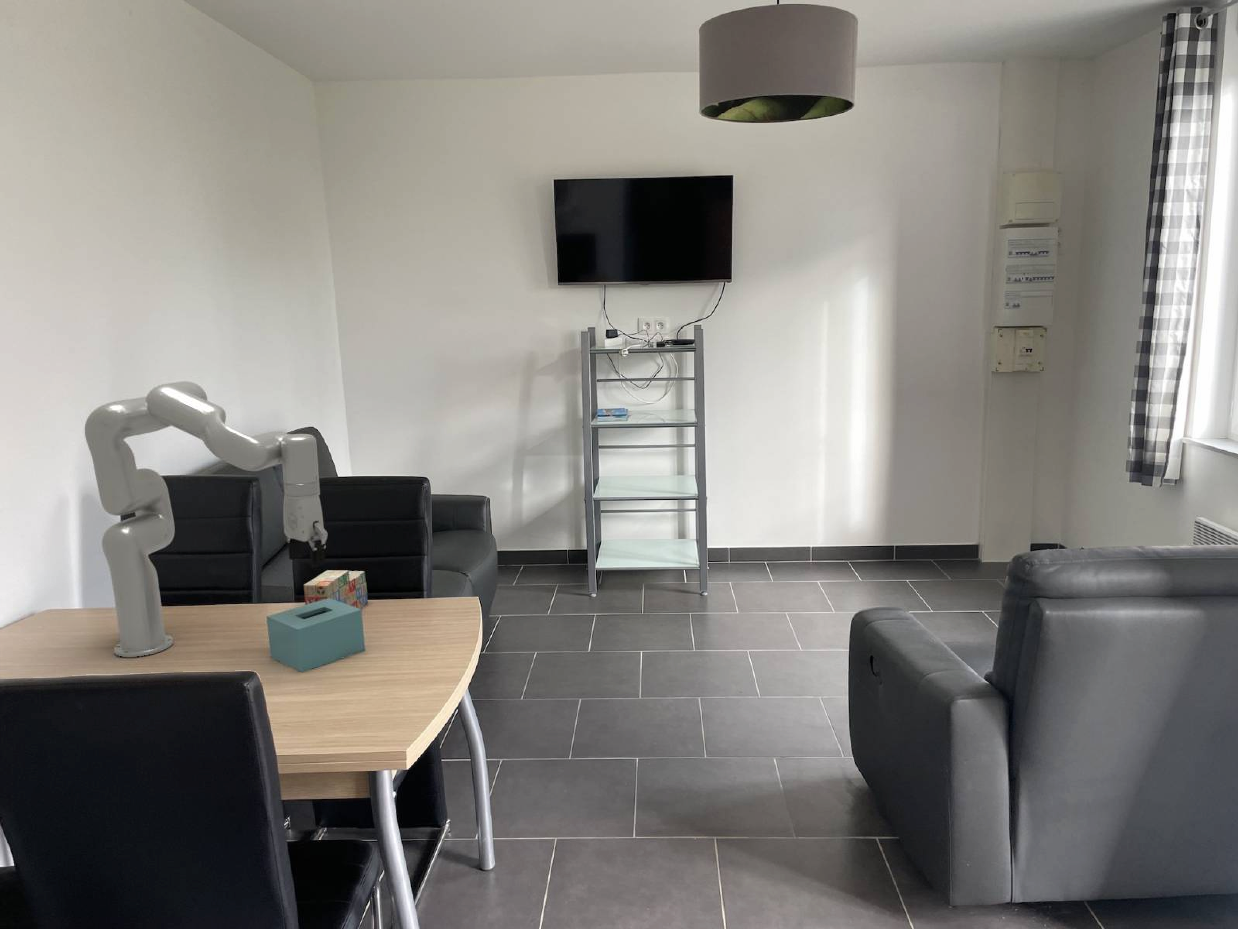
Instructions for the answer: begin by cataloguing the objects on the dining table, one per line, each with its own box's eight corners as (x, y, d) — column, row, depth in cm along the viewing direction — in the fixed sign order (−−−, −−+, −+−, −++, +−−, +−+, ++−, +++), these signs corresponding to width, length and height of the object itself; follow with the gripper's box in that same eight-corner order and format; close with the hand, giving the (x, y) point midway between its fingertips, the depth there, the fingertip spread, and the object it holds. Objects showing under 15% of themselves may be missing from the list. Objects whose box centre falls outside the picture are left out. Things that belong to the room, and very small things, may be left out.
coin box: (270, 657, 206) (266, 616, 204) (332, 637, 217) (329, 598, 216) (302, 672, 196) (297, 629, 195) (364, 650, 208) (361, 609, 207)
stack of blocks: (347, 603, 243) (343, 559, 241) (368, 603, 242) (364, 560, 240) (307, 631, 222) (303, 584, 220) (331, 632, 221) (326, 584, 219)
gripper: (267, 486, 203) (272, 559, 206) (306, 497, 192) (312, 573, 195) (297, 481, 208) (302, 552, 212) (337, 491, 197) (342, 565, 200)
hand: (307, 562), depth 203 cm, fingers open, 9 cm apart
